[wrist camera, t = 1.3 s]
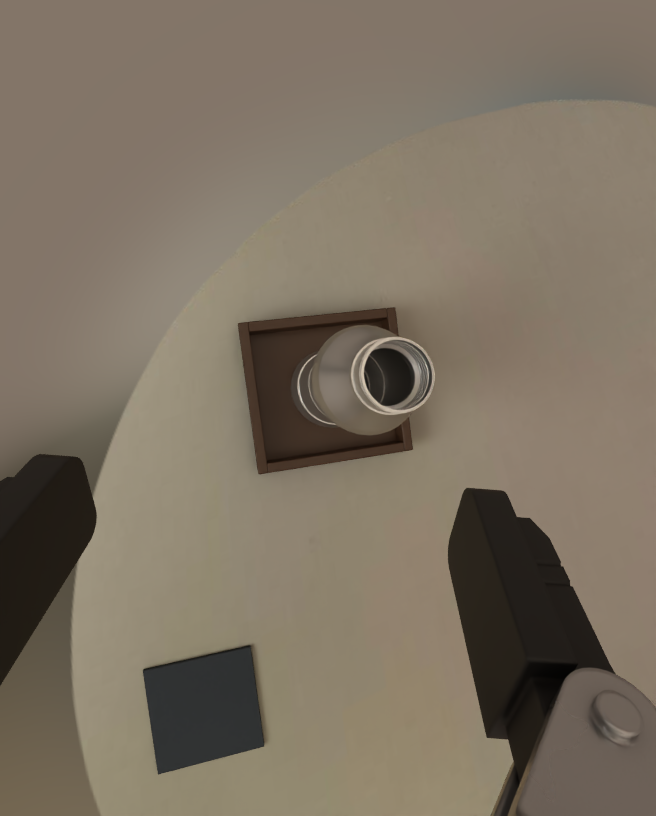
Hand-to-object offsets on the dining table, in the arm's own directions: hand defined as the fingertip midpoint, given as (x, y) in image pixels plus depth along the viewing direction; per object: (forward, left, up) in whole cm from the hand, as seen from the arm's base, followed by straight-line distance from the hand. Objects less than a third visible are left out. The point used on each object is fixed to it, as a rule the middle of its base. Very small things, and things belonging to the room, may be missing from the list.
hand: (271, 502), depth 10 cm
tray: (+7, +3, -31) cm, 32 cm away
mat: (-7, -23, -31) cm, 40 cm away
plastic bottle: (+7, +3, -31) cm, 32 cm away
